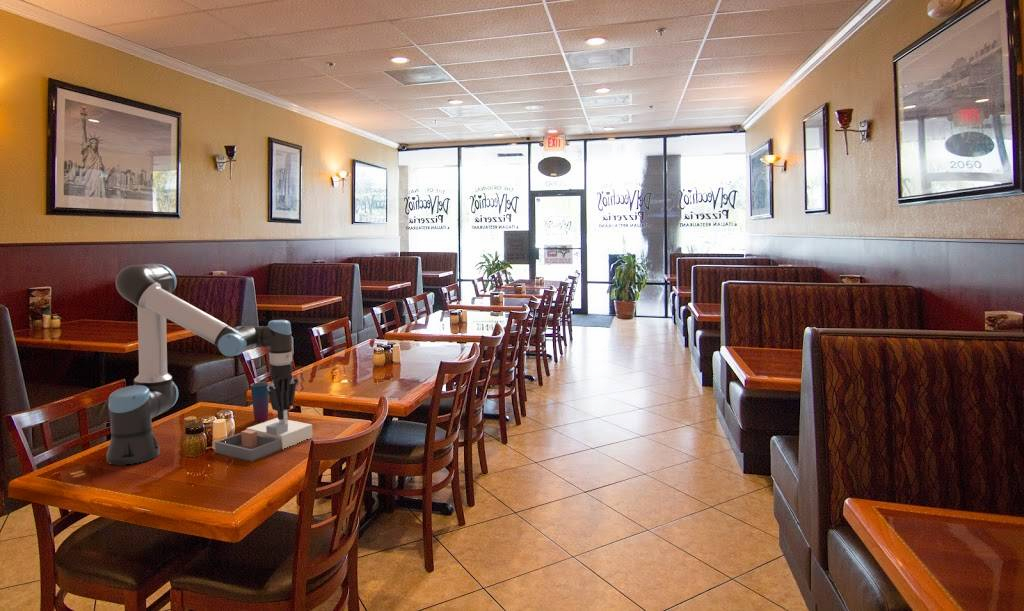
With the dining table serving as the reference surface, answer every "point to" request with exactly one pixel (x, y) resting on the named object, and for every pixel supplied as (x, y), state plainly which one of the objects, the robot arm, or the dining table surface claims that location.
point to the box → (251, 454)
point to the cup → (260, 400)
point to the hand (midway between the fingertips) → (283, 427)
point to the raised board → (288, 438)
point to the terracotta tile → (249, 438)
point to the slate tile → (277, 428)
